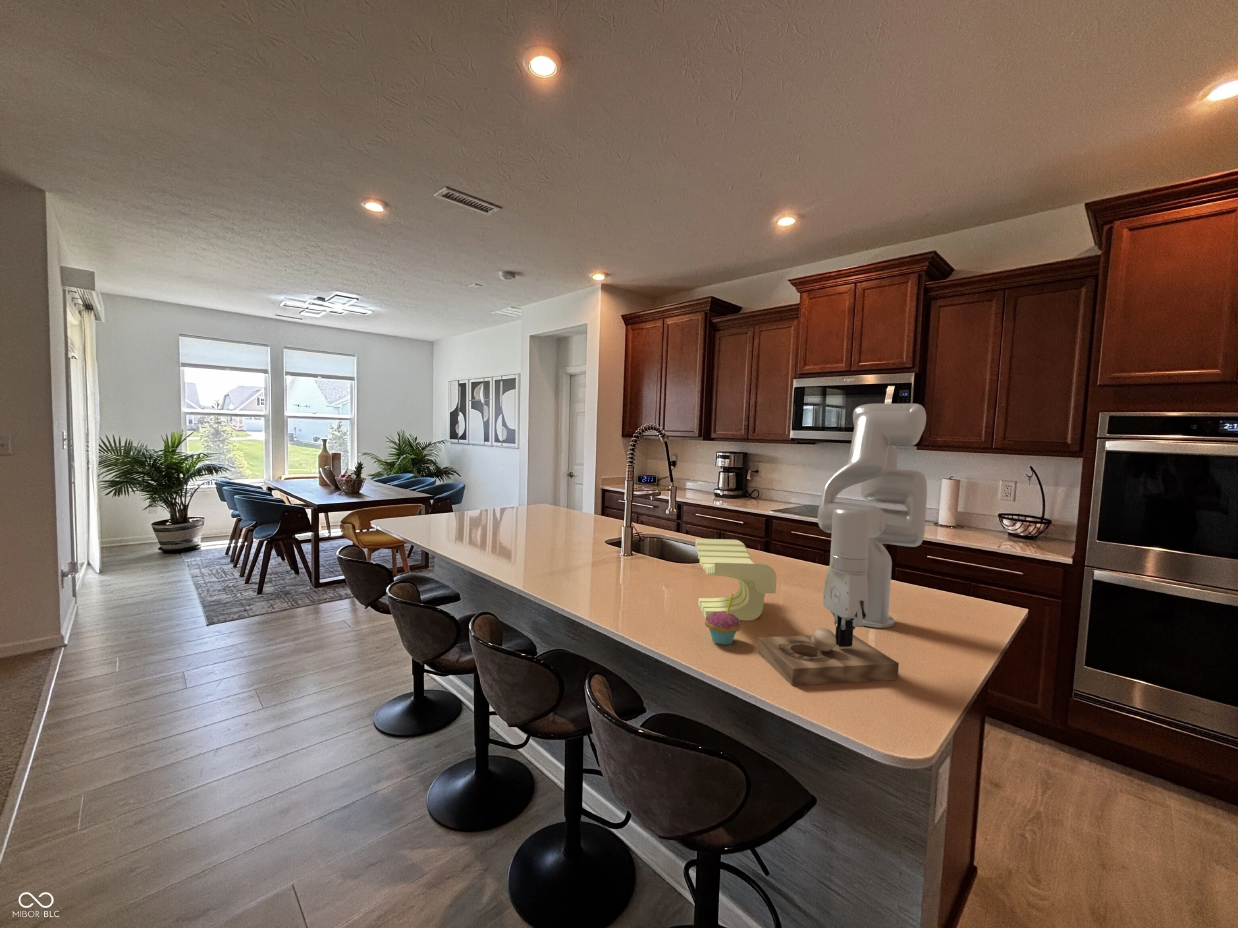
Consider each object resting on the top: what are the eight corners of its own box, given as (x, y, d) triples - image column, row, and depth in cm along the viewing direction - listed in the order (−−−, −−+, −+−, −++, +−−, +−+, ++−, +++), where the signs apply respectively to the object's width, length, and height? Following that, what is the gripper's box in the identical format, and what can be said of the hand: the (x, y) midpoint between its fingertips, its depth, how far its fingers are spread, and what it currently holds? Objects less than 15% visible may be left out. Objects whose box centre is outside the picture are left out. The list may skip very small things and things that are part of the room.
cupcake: (734, 634, 130) (737, 587, 129) (744, 648, 121) (746, 598, 121) (701, 633, 130) (703, 587, 129) (708, 647, 121) (710, 598, 120)
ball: (826, 624, 116) (824, 645, 116) (808, 624, 114) (805, 646, 115) (842, 632, 111) (839, 655, 111) (823, 632, 110) (820, 655, 110)
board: (850, 647, 124) (851, 633, 124) (897, 679, 108) (898, 663, 108) (757, 651, 120) (758, 637, 119) (792, 685, 104) (792, 668, 104)
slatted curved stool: (773, 632, 132) (777, 564, 131) (711, 630, 132) (714, 562, 131) (743, 595, 162) (746, 539, 161) (693, 594, 162) (695, 538, 161)
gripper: (814, 555, 120) (809, 632, 121) (854, 573, 105) (848, 660, 106) (843, 555, 121) (838, 631, 122) (886, 572, 107) (881, 658, 108)
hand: (843, 644), depth 114 cm, fingers closed
